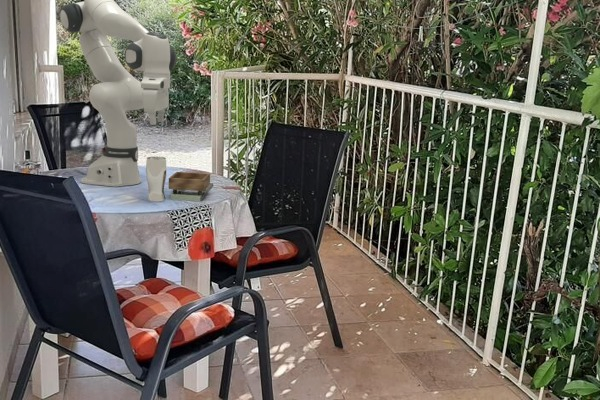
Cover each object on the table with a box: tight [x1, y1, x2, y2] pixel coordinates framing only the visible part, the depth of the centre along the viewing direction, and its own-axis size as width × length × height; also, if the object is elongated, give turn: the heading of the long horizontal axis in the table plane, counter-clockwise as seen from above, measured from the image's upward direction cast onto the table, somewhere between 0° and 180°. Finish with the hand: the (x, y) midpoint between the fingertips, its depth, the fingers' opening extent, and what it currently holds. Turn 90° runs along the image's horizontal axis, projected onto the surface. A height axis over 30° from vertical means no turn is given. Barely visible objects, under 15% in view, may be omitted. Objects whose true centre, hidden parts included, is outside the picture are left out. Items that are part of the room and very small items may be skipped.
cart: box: [168, 171, 211, 195], centre depth 221 cm, size 13×13×6 cm
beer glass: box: [145, 155, 167, 203], centre depth 211 cm, size 7×7×15 cm
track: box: [170, 182, 214, 202], centre depth 228 cm, size 11×27×2 cm, turn 178°
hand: (156, 123), depth 207 cm, fingers open, 8 cm apart
